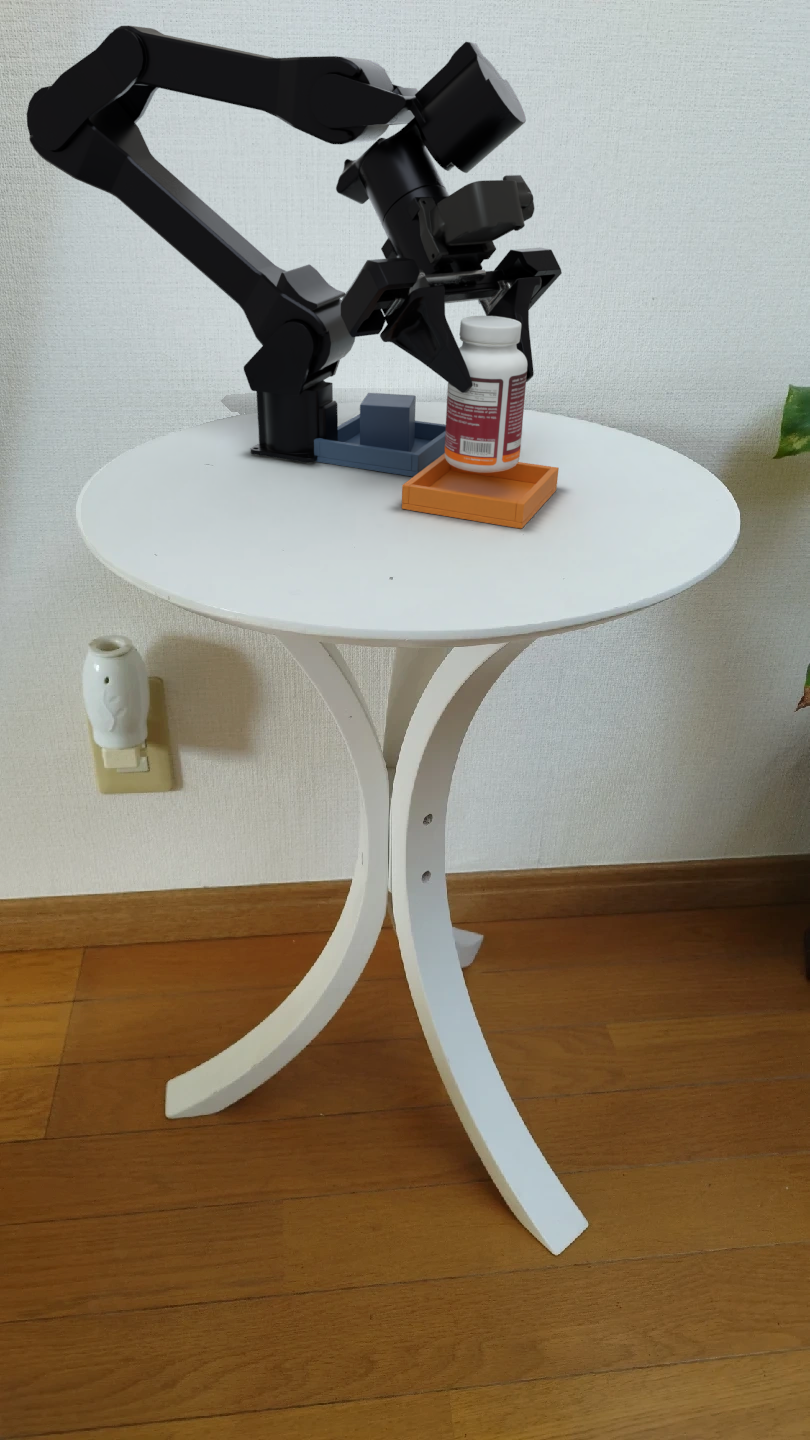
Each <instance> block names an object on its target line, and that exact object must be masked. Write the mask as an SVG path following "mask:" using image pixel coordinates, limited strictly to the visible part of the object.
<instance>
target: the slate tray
mask: <svg viewBox="0 0 810 1440" xmlns="http://www.w3.org/2000/svg"><path fill="white" fill-rule="evenodd" d="M445 432H446V424H443V423H435V422H429V421H422V420H415V439H414V445H413V447H412V449H411V452H407V451H400V450H393V449H387V448H380V447H373V446H366V445H360V413H359V414H356V415H355V416H354V417H352V418H350V419H348V420H346V421H345V422H342V423H341V424H338V441H332V440H325V439H322V438H317V439H315V440H314V455H317V456H318V457H317V460H316V461H315V462H316V463H321V464H322V463H323V464H329V465H335V466H341V467H342V466H343V467H348V468H355V469H361V470H366V471H367V470H368V471H373V472H374V471H375V472H381V473H387V474H393V475H401V476H407V477H411V478H412V477H414V476H415V475H416V474H418V473H419V472H420V471H422V470H423V469H424V468H426V467H427V466H428V465H430V464H431V463H432V462H434V461H435V460H436V459H438V458H439V457H440V456H441V455H443V454H444V453H445Z"/></svg>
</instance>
